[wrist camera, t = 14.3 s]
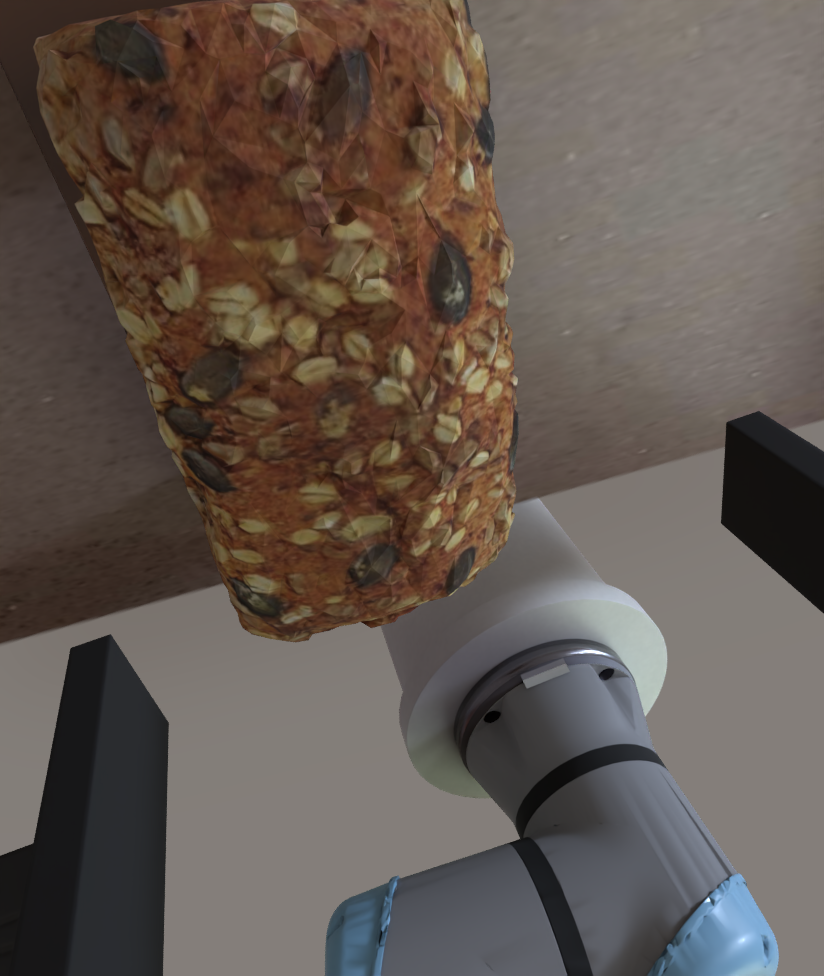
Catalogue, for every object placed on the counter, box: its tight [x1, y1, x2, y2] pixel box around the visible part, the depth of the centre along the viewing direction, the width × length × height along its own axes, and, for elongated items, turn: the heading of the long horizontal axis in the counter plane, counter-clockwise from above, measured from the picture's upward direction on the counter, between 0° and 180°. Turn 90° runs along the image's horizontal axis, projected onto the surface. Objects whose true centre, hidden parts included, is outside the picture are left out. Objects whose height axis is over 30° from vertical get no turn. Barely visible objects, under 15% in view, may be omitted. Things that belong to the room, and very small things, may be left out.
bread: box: [33, 0, 519, 642], centre depth 22 cm, size 19×11×10 cm, turn 7°
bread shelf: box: [0, 0, 217, 334], centre depth 29 cm, size 22×13×6 cm, turn 12°
